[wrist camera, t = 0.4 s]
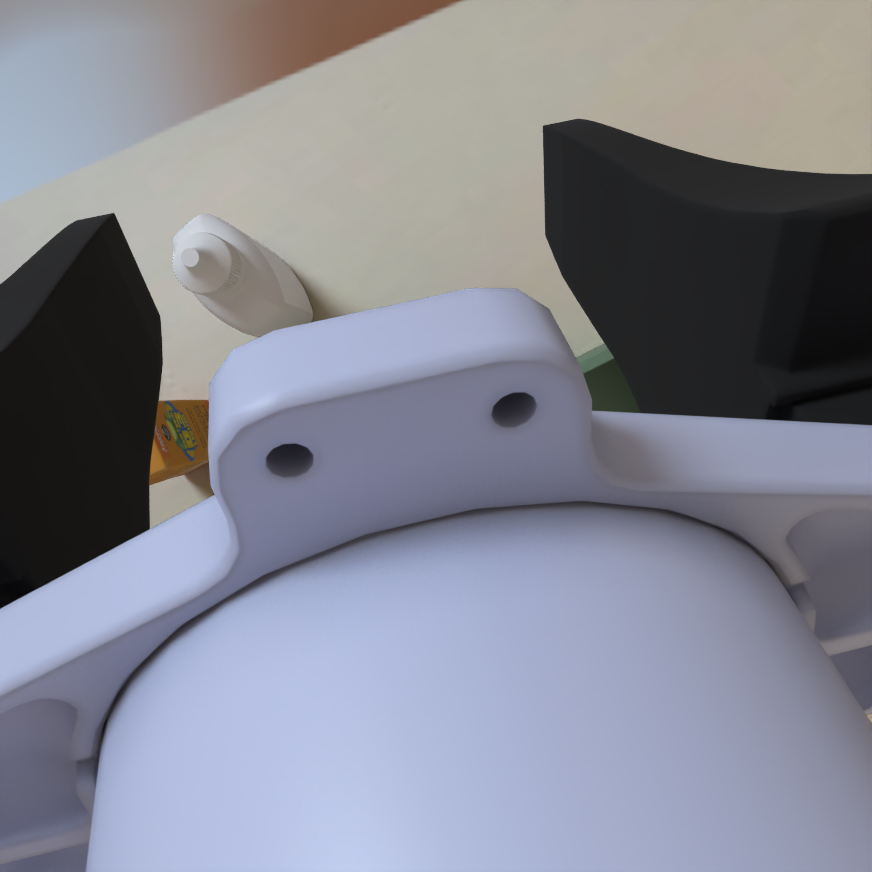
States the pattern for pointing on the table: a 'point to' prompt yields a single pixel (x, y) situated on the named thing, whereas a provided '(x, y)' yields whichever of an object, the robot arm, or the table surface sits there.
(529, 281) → the table surface
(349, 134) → the table surface
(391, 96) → the table surface
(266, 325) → the eye dropper bottle
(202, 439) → the supplement box
